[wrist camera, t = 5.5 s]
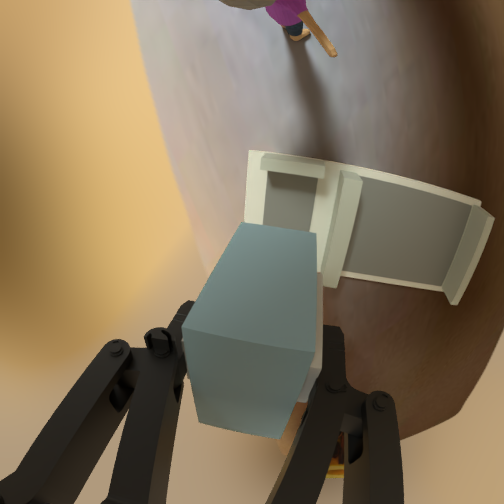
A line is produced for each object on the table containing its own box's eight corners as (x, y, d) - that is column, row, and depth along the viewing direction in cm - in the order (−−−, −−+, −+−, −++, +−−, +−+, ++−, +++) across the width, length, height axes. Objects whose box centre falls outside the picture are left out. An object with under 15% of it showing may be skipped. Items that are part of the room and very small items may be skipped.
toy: (343, 69, 18) (391, 12, 5) (288, 96, 21) (253, 74, 8) (276, -17, 15) (232, -118, 2) (224, 11, 17) (130, -62, 4)
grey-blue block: (241, 222, 15) (181, 326, 8) (316, 233, 14) (314, 352, 7) (236, 318, 18) (198, 422, 11) (295, 328, 18) (279, 439, 11)
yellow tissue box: (316, 418, 43) (311, 465, 34) (369, 417, 41) (369, 464, 32) (311, 437, 48) (306, 478, 39) (357, 437, 46) (356, 477, 37)
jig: (250, 149, 24) (240, 156, 20) (478, 199, 20) (496, 213, 17) (243, 256, 29) (234, 275, 26) (444, 289, 26) (455, 309, 23)
